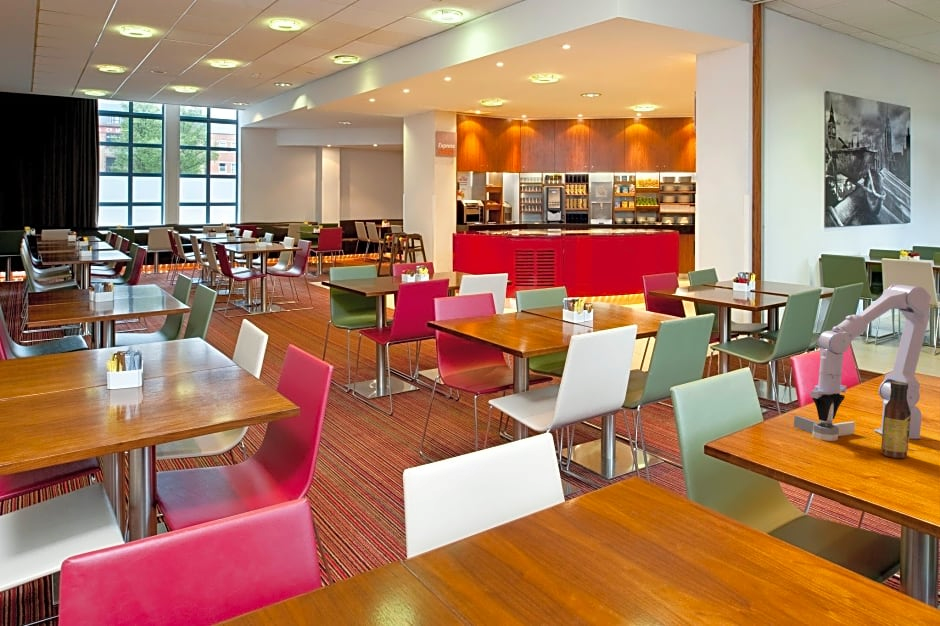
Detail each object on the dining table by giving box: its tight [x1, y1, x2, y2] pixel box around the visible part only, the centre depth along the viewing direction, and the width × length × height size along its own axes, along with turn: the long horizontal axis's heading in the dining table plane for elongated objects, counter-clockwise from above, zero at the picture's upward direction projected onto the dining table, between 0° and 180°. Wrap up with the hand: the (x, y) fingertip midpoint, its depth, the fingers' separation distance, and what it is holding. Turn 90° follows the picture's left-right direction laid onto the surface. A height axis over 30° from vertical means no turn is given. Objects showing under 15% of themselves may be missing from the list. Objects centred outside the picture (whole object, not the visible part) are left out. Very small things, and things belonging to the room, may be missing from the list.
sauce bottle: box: [880, 382, 911, 459], centre depth 193 cm, size 7×6×20 cm
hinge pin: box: [820, 402, 834, 428], centre depth 208 cm, size 3×3×8 cm
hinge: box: [793, 414, 856, 442], centre depth 214 cm, size 14×14×4 cm
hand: (826, 419), depth 209 cm, fingers closed on hinge pin, 3 cm apart
